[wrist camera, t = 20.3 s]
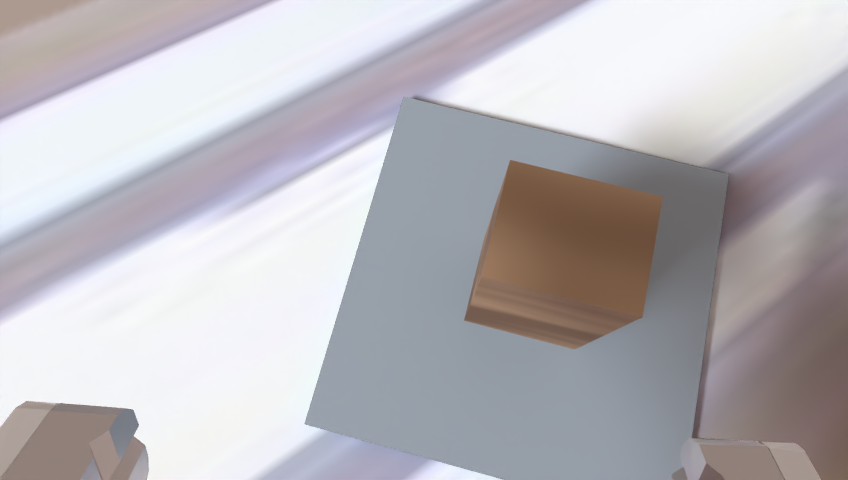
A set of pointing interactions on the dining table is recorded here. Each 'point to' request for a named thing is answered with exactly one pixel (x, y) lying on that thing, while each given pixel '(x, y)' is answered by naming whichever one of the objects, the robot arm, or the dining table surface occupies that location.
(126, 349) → the dining table surface
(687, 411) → the rubber mat
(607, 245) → the walnut block
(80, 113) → the dining table surface
